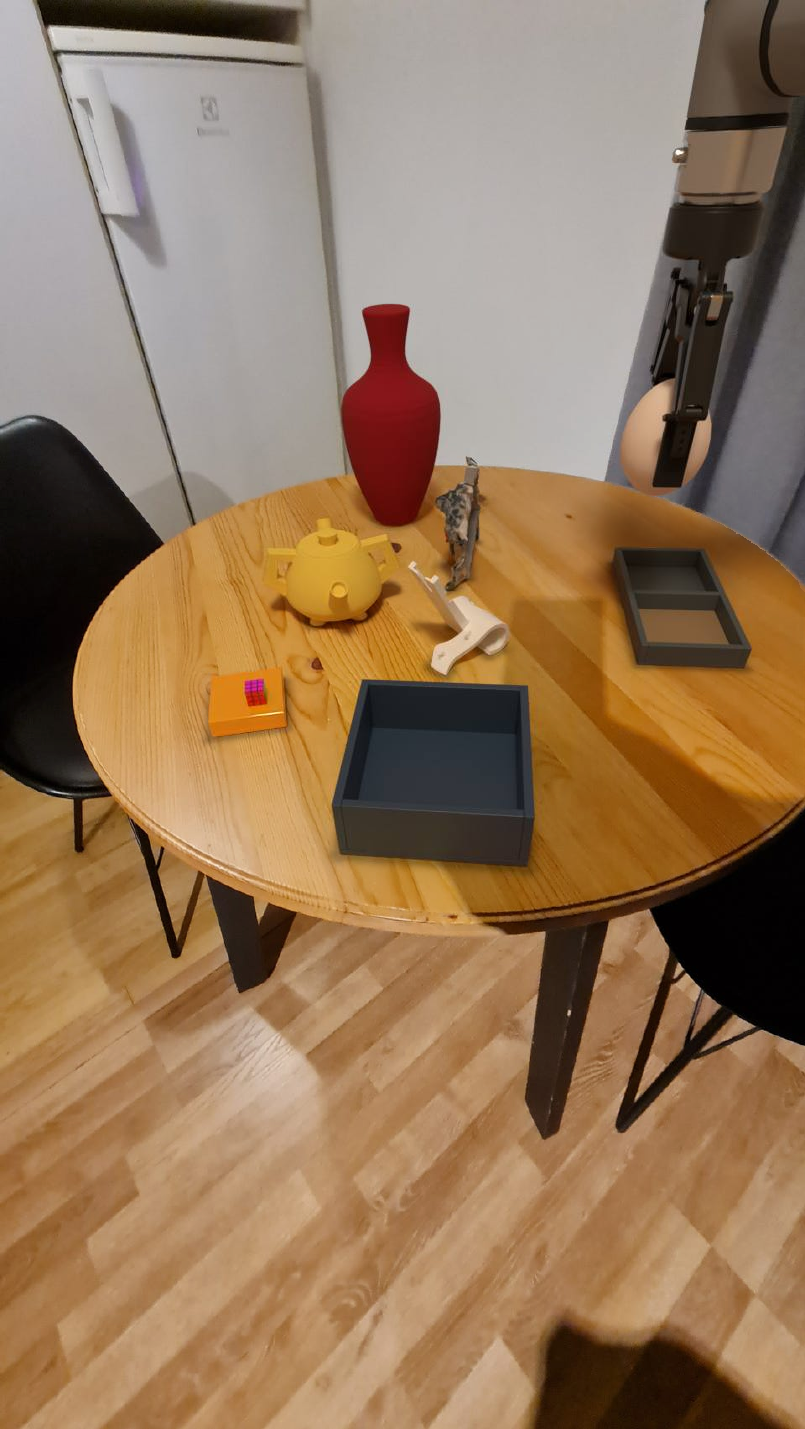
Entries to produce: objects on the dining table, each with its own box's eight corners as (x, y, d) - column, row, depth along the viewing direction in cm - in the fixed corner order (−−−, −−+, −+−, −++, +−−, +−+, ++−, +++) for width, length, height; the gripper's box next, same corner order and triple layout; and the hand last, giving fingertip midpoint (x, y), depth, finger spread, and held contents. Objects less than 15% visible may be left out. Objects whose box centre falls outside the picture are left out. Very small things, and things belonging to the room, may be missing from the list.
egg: (683, 476, 74) (710, 365, 67) (705, 509, 68) (739, 391, 60) (605, 477, 75) (624, 368, 67) (621, 511, 69) (643, 394, 61)
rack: (699, 566, 93) (704, 548, 91) (744, 668, 76) (752, 648, 74) (611, 564, 94) (615, 547, 92) (636, 664, 77) (641, 645, 75)
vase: (376, 548, 101) (360, 326, 80) (336, 512, 110) (313, 306, 90) (457, 524, 106) (462, 309, 85) (412, 492, 115) (406, 292, 95)
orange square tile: (212, 737, 71) (202, 708, 68) (215, 691, 76) (207, 662, 74) (286, 727, 71) (280, 697, 68) (284, 681, 77) (278, 652, 74)
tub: (522, 734, 69) (528, 685, 64) (527, 867, 57) (534, 817, 52) (367, 727, 71) (362, 678, 66) (339, 854, 59) (331, 805, 54)
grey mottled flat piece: (452, 540, 102) (453, 455, 93) (479, 542, 101) (483, 456, 92) (435, 591, 91) (434, 500, 82) (466, 593, 90) (468, 502, 81)
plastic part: (508, 647, 81) (517, 563, 73) (443, 677, 77) (445, 591, 69) (469, 619, 85) (474, 537, 77) (407, 646, 81) (405, 562, 73)
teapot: (415, 640, 82) (413, 561, 75) (273, 660, 80) (255, 581, 73) (388, 563, 97) (384, 490, 89) (267, 579, 95) (252, 505, 87)
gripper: (651, 190, 63) (611, 432, 78) (698, 213, 47) (636, 511, 62) (733, 187, 62) (676, 432, 77) (809, 209, 46) (719, 512, 61)
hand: (658, 467), depth 70 cm, fingers closed on egg, 9 cm apart
